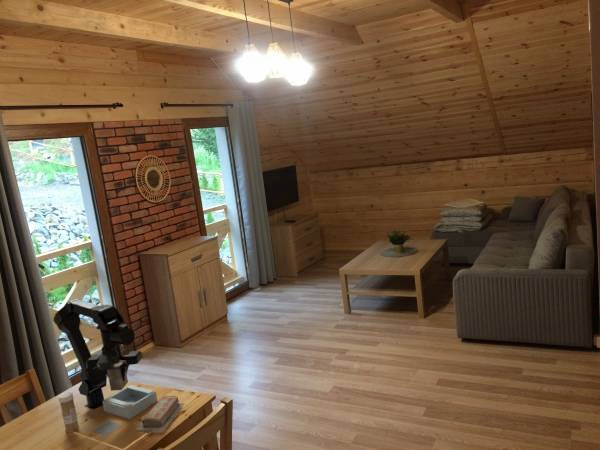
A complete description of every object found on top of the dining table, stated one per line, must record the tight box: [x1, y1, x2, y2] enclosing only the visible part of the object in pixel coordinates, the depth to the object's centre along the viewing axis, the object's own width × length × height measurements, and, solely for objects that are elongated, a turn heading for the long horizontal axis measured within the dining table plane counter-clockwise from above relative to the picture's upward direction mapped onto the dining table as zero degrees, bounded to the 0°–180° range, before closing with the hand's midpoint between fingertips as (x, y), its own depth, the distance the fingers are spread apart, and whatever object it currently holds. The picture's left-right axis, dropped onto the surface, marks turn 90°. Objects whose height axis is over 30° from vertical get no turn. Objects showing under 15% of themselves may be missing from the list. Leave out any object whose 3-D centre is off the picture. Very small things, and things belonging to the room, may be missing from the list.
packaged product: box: [135, 395, 185, 434], centre depth 186 cm, size 18×5×10 cm
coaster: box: [91, 420, 122, 436], centre depth 182 cm, size 7×7×1 cm
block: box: [107, 361, 129, 392], centre depth 189 cm, size 4×6×8 cm, turn 177°
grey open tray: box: [102, 384, 158, 420], centre depth 196 cm, size 14×13×5 cm
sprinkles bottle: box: [58, 391, 80, 434], centre depth 184 cm, size 5×5×14 cm
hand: (118, 381), depth 190 cm, fingers closed on block, 4 cm apart
